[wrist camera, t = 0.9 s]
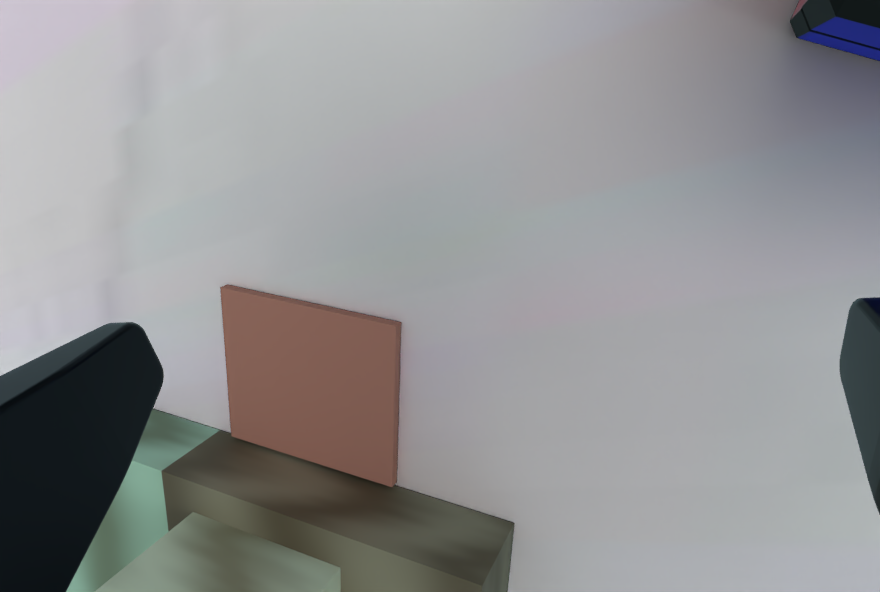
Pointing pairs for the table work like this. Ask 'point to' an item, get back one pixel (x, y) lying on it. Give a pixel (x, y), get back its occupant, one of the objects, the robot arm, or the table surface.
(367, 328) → the reddish brown flat panel
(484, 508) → the table surface
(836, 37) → the puzzle cube
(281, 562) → the pale green block
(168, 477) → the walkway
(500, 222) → the table surface
